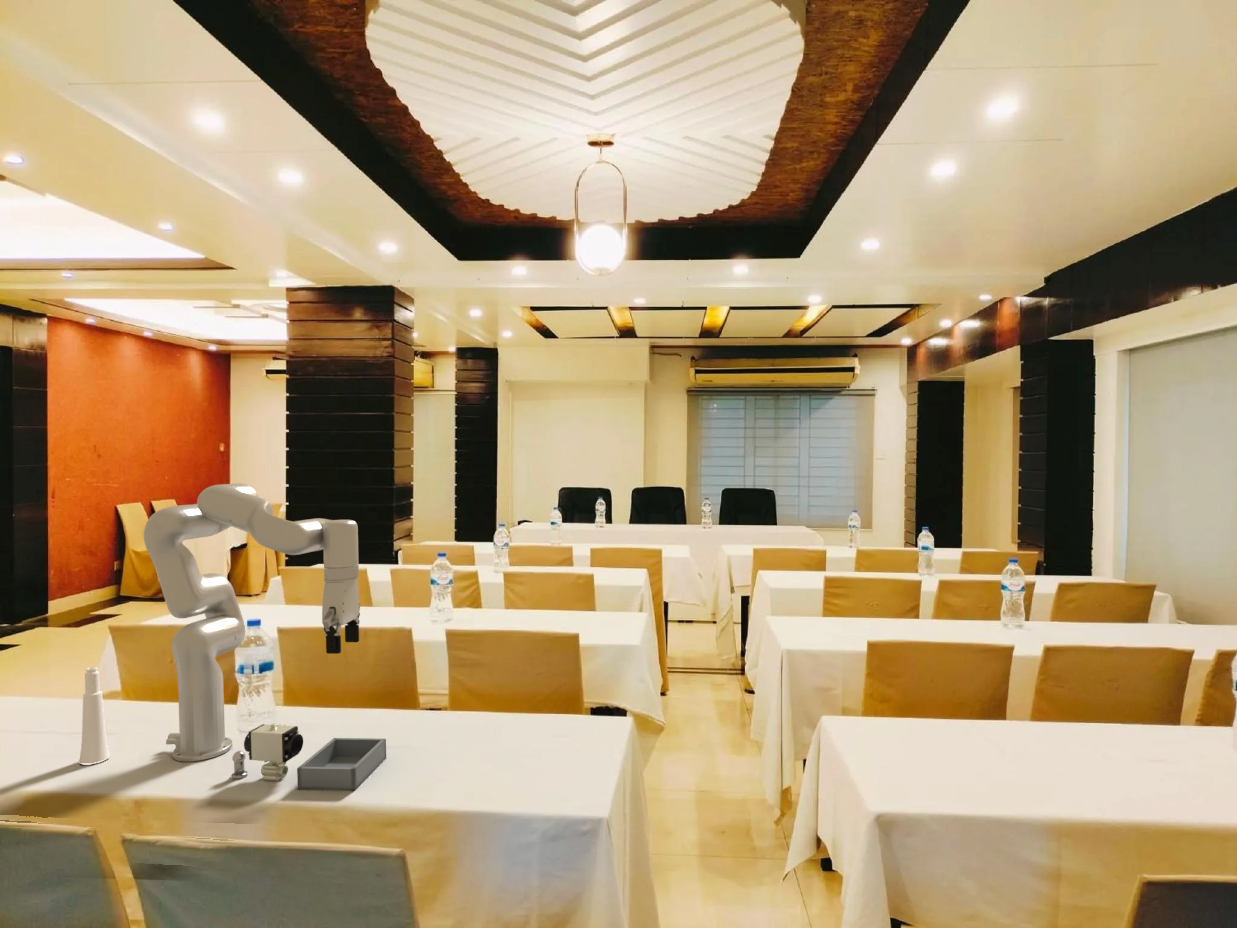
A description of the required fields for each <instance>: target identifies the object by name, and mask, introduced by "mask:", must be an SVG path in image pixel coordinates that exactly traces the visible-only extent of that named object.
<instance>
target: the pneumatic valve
mask: <svg viewBox="0 0 1237 928" xmlns="http://www.w3.org/2000/svg"><path fill="white" fill-rule="evenodd" d="M299 731H300V730H299V727H298V726H297V725H296V726H295V725H286V724H283V725H282V724H281V723H279V724H276V723H271V724H267V723H266V724H264V723H263V724H261V725H258V726H257V727H255V728H253V729H252V730H249V731H248V733H247V735H246V736H245V738H244V741H243V748H244V750H245V751H246V752H247V753H248V754H247V755H248V757H249V758H248V759H249V761H259V762H260V761H261V762H264V764H263V765H261V768H260V773H261V775H262V776H261V777H262V780H264V781H271V782H278V781H280V779H281V778H283V777H285V776H287V775H288V773H289V767H288V765H287V762H288V761H290V760H291V759H293V758H294V757H296V756H298V755H299V754H300V752H301V751H302V749H303V745H304V738H303V737H304V736H303V735H302V734H301V733H300V732H299Z"/></svg>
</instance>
